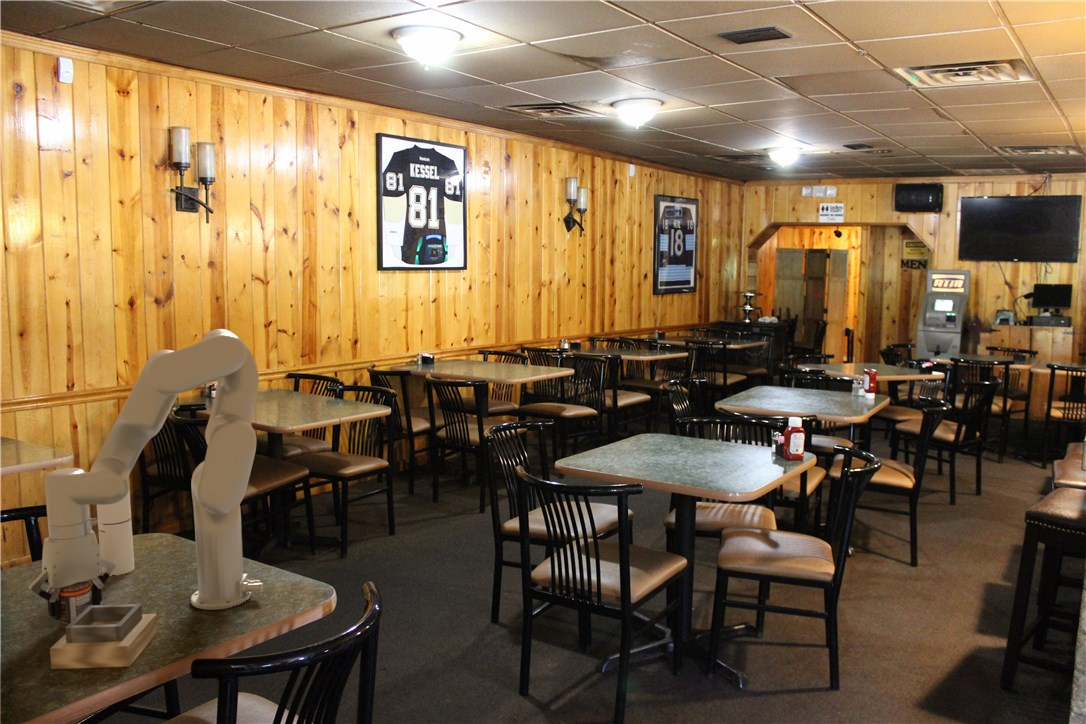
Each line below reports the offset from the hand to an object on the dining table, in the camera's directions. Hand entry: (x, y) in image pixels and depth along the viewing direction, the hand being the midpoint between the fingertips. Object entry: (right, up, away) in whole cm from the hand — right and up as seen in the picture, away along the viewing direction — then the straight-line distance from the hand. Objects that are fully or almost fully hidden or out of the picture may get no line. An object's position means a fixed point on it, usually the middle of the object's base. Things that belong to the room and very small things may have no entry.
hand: (76, 611), depth 174 cm
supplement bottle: (0, -3, 0) cm, 3 cm away
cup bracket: (+12, -4, -11) cm, 17 cm away
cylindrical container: (-6, +1, +30) cm, 30 cm away
